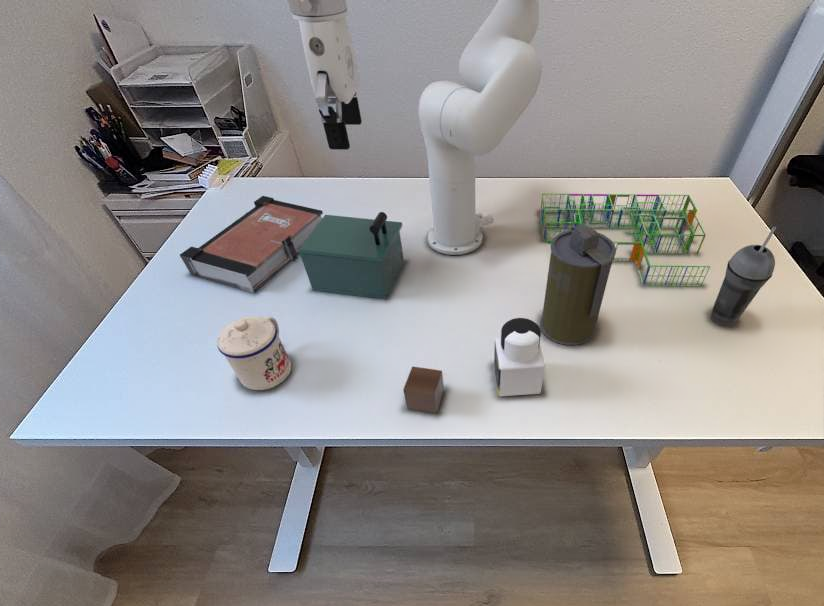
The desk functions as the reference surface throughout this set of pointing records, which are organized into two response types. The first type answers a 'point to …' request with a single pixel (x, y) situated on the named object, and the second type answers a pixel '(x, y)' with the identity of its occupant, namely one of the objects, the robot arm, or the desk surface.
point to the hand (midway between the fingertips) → (346, 135)
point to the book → (254, 245)
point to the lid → (352, 237)
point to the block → (424, 389)
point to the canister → (576, 284)
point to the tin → (355, 273)
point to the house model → (638, 247)
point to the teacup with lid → (255, 351)
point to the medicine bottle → (519, 358)
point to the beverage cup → (743, 282)
